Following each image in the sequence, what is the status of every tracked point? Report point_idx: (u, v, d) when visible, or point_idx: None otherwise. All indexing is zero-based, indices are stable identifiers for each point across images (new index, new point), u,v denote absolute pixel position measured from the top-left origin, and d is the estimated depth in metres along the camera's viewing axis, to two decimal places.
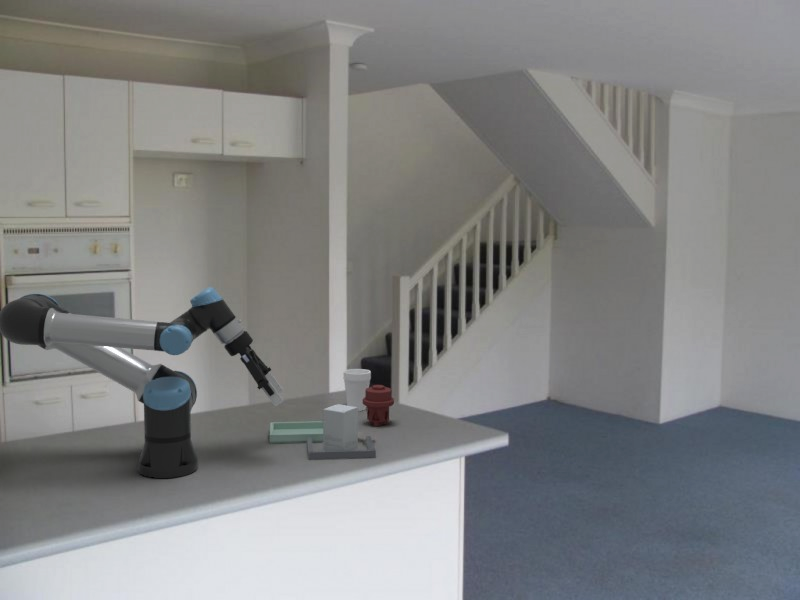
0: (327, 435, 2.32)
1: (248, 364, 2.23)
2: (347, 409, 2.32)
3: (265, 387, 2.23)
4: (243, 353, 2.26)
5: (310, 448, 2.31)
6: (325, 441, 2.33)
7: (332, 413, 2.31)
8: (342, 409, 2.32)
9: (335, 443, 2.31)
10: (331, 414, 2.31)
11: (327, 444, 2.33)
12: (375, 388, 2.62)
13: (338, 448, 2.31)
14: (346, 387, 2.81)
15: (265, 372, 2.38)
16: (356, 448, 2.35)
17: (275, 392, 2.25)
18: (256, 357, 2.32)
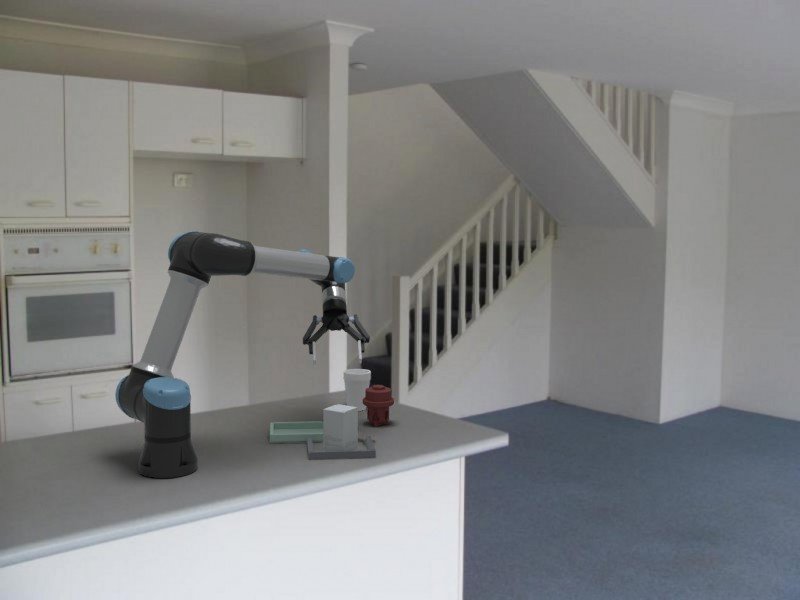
0: (327, 435, 2.32)
1: None
2: (347, 409, 2.32)
3: (364, 343, 2.50)
4: None
5: (310, 448, 2.31)
6: (325, 441, 2.33)
7: (332, 413, 2.31)
8: (342, 409, 2.32)
9: (335, 443, 2.31)
10: (331, 414, 2.31)
11: (327, 444, 2.33)
12: (375, 388, 2.62)
13: (338, 448, 2.31)
14: (346, 387, 2.81)
15: None
16: (356, 448, 2.35)
17: (360, 353, 2.49)
18: (328, 329, 2.54)
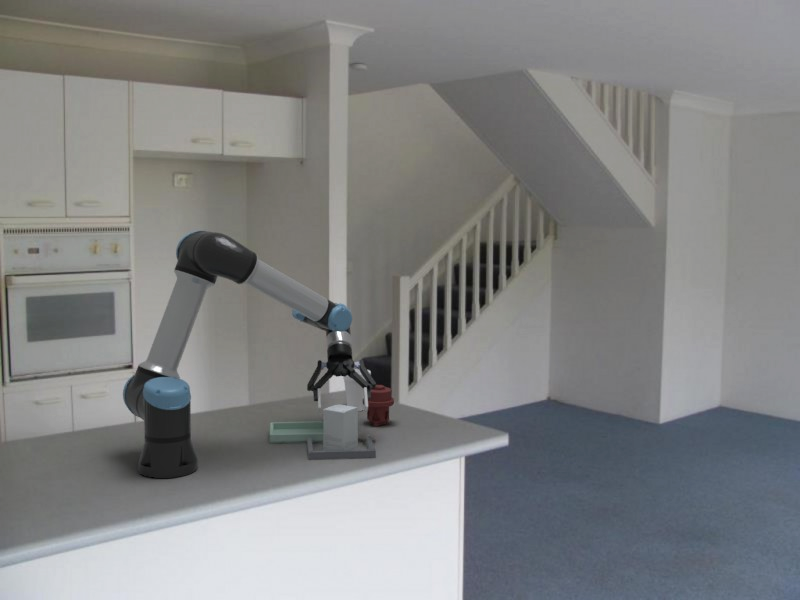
0: (327, 435, 2.32)
1: None
2: (347, 409, 2.32)
3: (370, 390, 2.44)
4: (352, 361, 2.50)
5: (310, 448, 2.31)
6: (325, 441, 2.33)
7: (332, 413, 2.31)
8: (342, 409, 2.32)
9: (335, 443, 2.31)
10: (331, 414, 2.31)
11: (327, 444, 2.33)
12: (375, 388, 2.62)
13: (338, 448, 2.31)
14: (346, 387, 2.81)
15: None
16: (356, 448, 2.35)
17: None
18: (333, 374, 2.48)
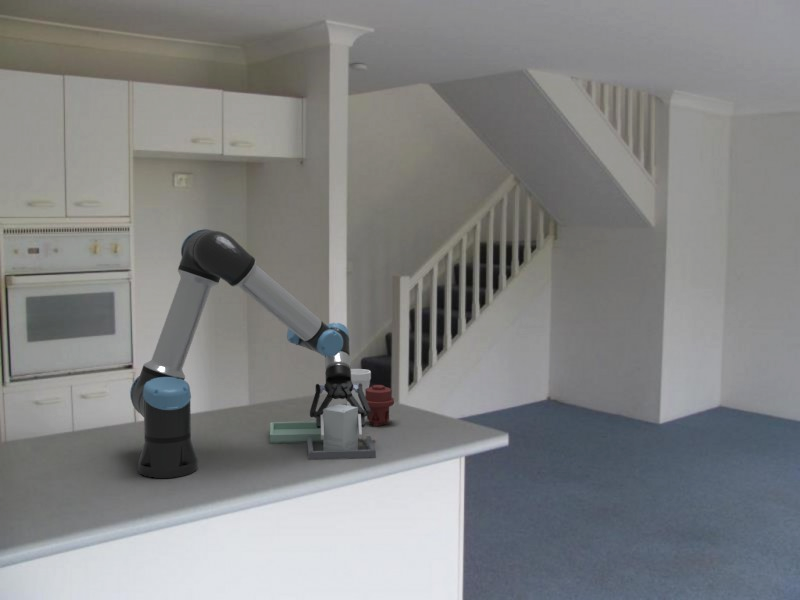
0: (327, 435, 2.32)
1: None
2: (347, 409, 2.32)
3: (364, 416, 2.36)
4: None
5: (310, 448, 2.31)
6: (325, 441, 2.33)
7: (332, 413, 2.31)
8: (342, 409, 2.32)
9: (335, 443, 2.31)
10: (331, 414, 2.31)
11: (327, 444, 2.33)
12: (375, 388, 2.62)
13: (338, 448, 2.31)
14: None
15: None
16: (356, 448, 2.35)
17: None
18: (333, 397, 2.41)
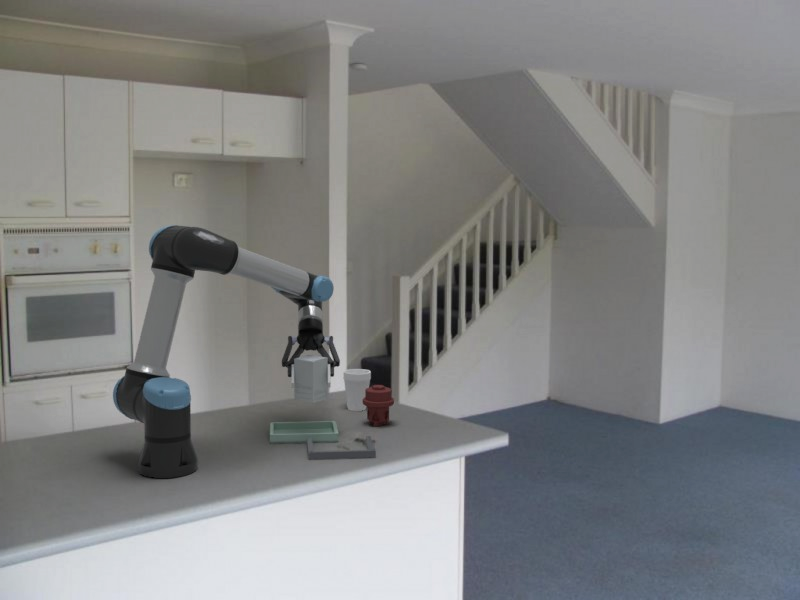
0: (298, 383, 2.43)
1: None
2: (317, 359, 2.42)
3: None
4: (323, 336, 2.53)
5: (310, 448, 2.31)
6: (296, 389, 2.44)
7: (302, 362, 2.42)
8: (312, 359, 2.42)
9: (305, 391, 2.42)
10: (301, 363, 2.42)
11: (298, 392, 2.43)
12: (375, 388, 2.62)
13: (308, 396, 2.41)
14: (346, 387, 2.81)
15: None
16: (326, 397, 2.46)
17: None
18: None
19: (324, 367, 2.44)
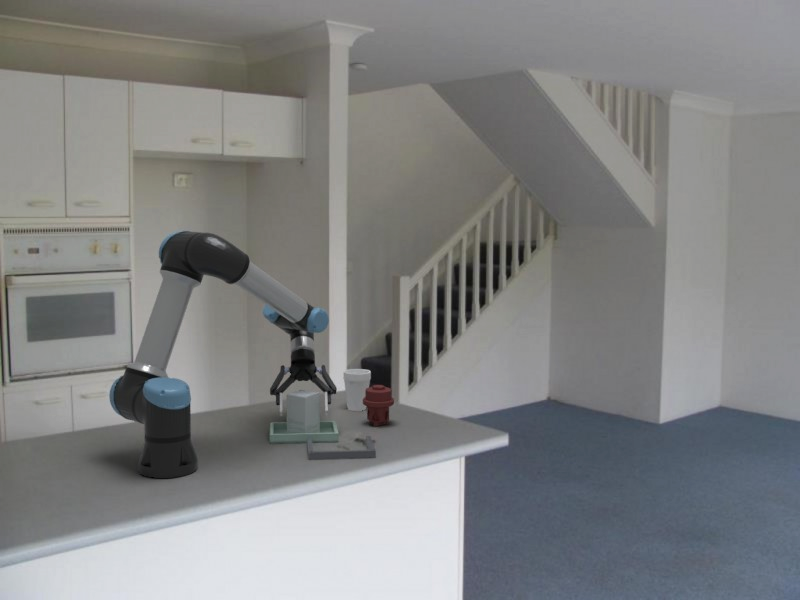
0: (290, 418, 2.47)
1: None
2: (309, 394, 2.46)
3: (330, 394, 2.51)
4: (315, 366, 2.57)
5: (310, 448, 2.31)
6: (288, 424, 2.47)
7: (295, 398, 2.45)
8: (304, 394, 2.46)
9: (298, 426, 2.45)
10: (293, 399, 2.45)
11: (290, 427, 2.47)
12: (375, 388, 2.62)
13: (300, 431, 2.45)
14: (346, 387, 2.81)
15: None
16: (318, 431, 2.50)
17: None
18: None
19: (316, 402, 2.48)
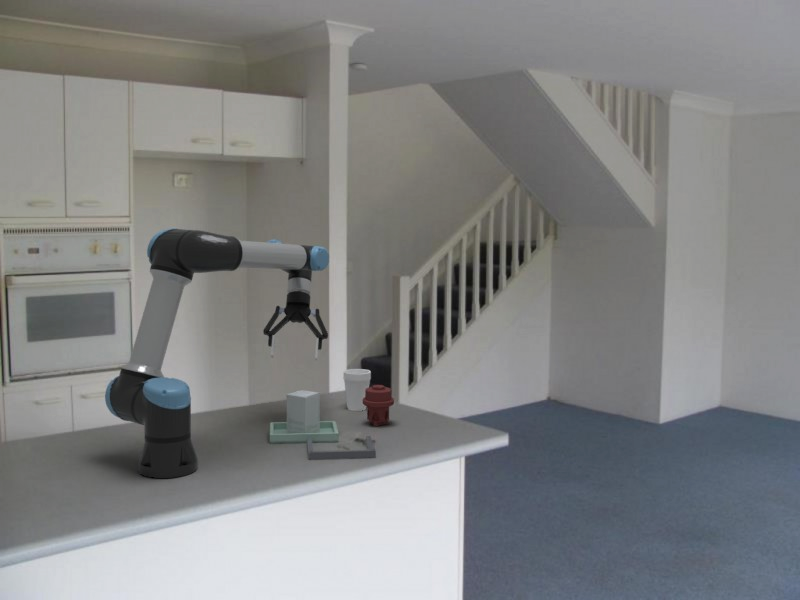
0: (290, 418, 2.47)
1: (320, 317, 2.63)
2: (309, 394, 2.46)
3: None
4: (309, 308, 2.64)
5: (310, 448, 2.31)
6: (288, 424, 2.47)
7: (295, 398, 2.45)
8: (304, 394, 2.46)
9: (298, 426, 2.45)
10: (293, 399, 2.45)
11: (290, 427, 2.47)
12: (375, 388, 2.62)
13: (300, 431, 2.45)
14: (346, 387, 2.81)
15: (272, 334, 2.59)
16: (318, 431, 2.50)
17: (317, 350, 2.60)
18: (290, 320, 2.63)
19: (316, 402, 2.48)
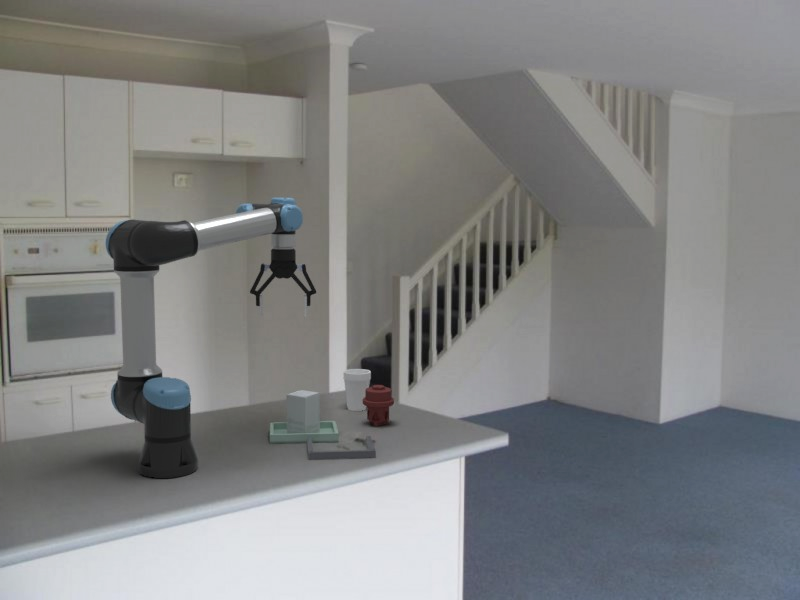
0: (290, 418, 2.47)
1: (306, 272, 2.55)
2: (309, 394, 2.46)
3: (310, 296, 2.57)
4: None
5: (310, 448, 2.31)
6: (288, 424, 2.47)
7: (295, 398, 2.45)
8: (304, 394, 2.46)
9: (298, 426, 2.45)
10: (293, 399, 2.45)
11: (290, 427, 2.47)
12: (375, 388, 2.62)
13: (300, 431, 2.45)
14: (346, 387, 2.81)
15: None
16: (318, 431, 2.50)
17: None
18: None
19: (316, 402, 2.48)
